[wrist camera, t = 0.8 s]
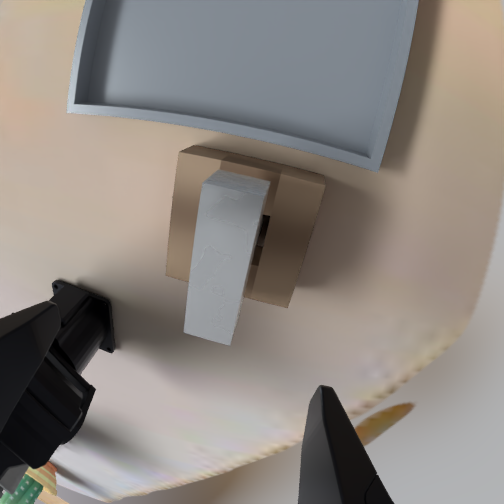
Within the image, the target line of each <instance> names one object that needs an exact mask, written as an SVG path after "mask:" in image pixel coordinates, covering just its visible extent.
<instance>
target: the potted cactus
mask: <svg viewBox="0 0 504 504" xmlns="http://www.w3.org/2000/svg"><path fill="white" fill-rule="evenodd" d="M56 471H57V469H56V467H55V466H53V465H52V464H51V463H50V462H49V461H48V462H47V463H46V465H44V466H42V467H40V468H37V469H32V468H31V467H30V466H29V468H28V469H27V471H26V473H25V474H24V477H23V478H22V480H21V482H20V483H19V485H18V487H17V489H16V490H15V492H14V494H9V493H8V492H5V493H4V495H3V496H2V497H1V499H0V504H34V502H35V500H36V499H37V497H38V496H39V494H40V493H41V492H42V490H44V491H46V492H48V493H50V494H52V495H55V496H56V495H57V491H56V476H55V472H56Z"/></svg>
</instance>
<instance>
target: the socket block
mask: <svg viewBox="0 0 504 504" xmlns="http://www.w3.org/2000/svg"><path fill="white" fill-rule="evenodd" d="M217 170H223V171H227V172H232V173H236V174H241V175H245V176H249V177H254V178H258V179H262V180H266V181H270V186H269V190H268V195H267V199H266V203H265V208H264V212H263V214H265V215H269V216H271V217H270V221H269V225H268V229H267V233H266V237H265V241H264V245H263V247H259V246H255V250H254V255H253V259H252V263H251V267H250V272H249V276H248V280H247V285H246V289H245V293H244V297H246V298H250V299H253V300H257V301H261V302H265V303H269V304H273V305H277V306H281V307H285V308H288V306H289V303H290V300H291V297H292V294H293V291H294V288H295V285H296V281H297V278H298V275H299V272H300V269H301V266H302V263H303V260H304V257H305V253H306V250H307V247H308V244H309V241H310V237H311V234H312V231H313V228H314V224H315V221H316V218H317V214H318V211H319V208H320V204H321V201H322V197H323V194H324V190H325V187H326V184H325V181H324V177H323V175H321V174H317V173H313V172H309V171H306V170H302V169H298V168H294V167H290V166H286V165H282V164H278V163H274V162H270V161H266V160H261V159H257V158H253V157H248V156H244V155H239V154H234V153H230V152H225V151H220V150H215V149H210V148H205V147H200V146H195V145H193V146H191V147H189V148H186V149H184V150H182V151H180V152H179V154H178V161H177V169H176V176H175V184H174V193H173V201H172V210H171V220H170V230H169V241H168V252H167V265H166V276H169V277H172V278H176V279H179V280H183V281H186V282H189V277H190V268H191V260H192V252H193V245H194V237H195V230H196V222H197V215H198V208H199V202H200V195H201V189H202V183H203V182H204V181H205V180H206V179H207V178H209V177H210V176H211V175H212V174H213V173H214V172H216V171H217Z"/></svg>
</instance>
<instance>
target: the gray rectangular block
mask: <svg viewBox="0 0 504 504" xmlns="http://www.w3.org/2000/svg"><path fill="white" fill-rule="evenodd" d="M269 186H270V181H266V180H262V179H258V178H254V177H249V176H245V175H241V174H236V173H232V172H227V171H223V170H217V171H216V172H214V173H213V174H212V175H211V176H210V177H209V178H207V179H206V180H205V181H204V182H203V183H202V189H201V195H200V202H199V208H198V215H197V222H196V230H195V237H194V245H193V252H192V260H191V268H190V277H189V285H188V294H187V304H186V313H185V323H184V333H187V334H190V335H193V336H197V337H200V338H204V339H207V340H211V341H214V342H218V343H222V344H225V345H229V346H230V344H231V341H232V338H233V335H234V331H235V328H236V325H237V321H238V318H239V314H240V310H241V306H242V302H243V297H244V293H245V289H246V285H247V280H248V276H249V272H250V267H251V263H252V259H253V255H254V250H255V246H256V243H257V240H258V237H259V234H260V231H261V228H262V225H263V212H264V208H265V203H266V199H267V195H268V190H269Z"/></svg>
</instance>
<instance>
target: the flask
mask: <svg viewBox="0 0 504 504" xmlns="http://www.w3.org/2000/svg"><path fill="white" fill-rule="evenodd" d="M28 468H29V466H28V465H24V466H19V467H15V468H10V469H9V470H8V471H7V472H6V473H5V475H4V476H3V477H2V479H1V480H0V499H1V497H2V495H3V493H2V491H3V489H4V490H5V491H6V492H8V493H9V494H14V492H15V490H16V489H17V487H18V485H19V483H20V482H21V480H22V478H23V476H24V474H25V473H26V471H27V469H28Z"/></svg>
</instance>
